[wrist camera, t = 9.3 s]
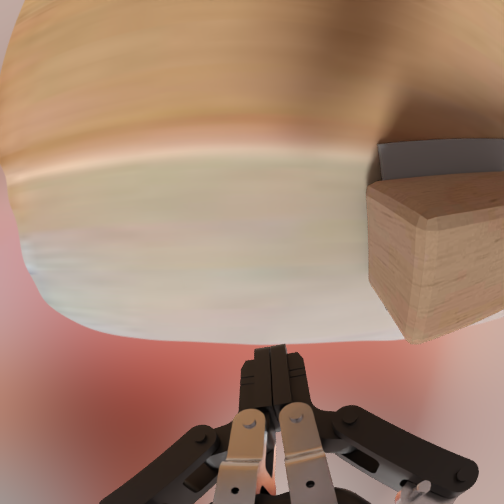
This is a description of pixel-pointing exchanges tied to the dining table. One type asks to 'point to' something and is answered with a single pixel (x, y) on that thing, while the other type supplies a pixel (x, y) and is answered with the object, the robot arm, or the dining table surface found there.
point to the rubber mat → (440, 157)
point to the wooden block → (437, 250)
